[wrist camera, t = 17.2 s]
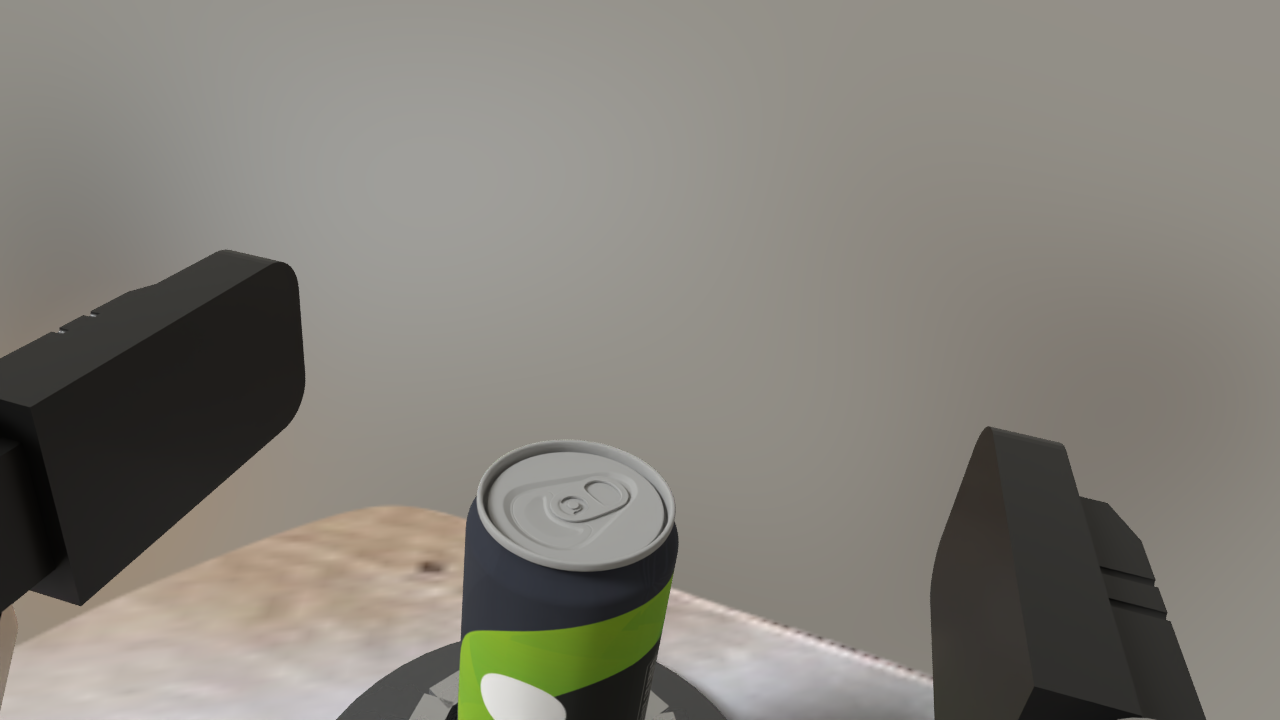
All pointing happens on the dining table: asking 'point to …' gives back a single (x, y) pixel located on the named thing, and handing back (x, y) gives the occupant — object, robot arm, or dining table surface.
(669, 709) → the rosette
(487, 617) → the beverage can
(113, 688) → the dining table surface
